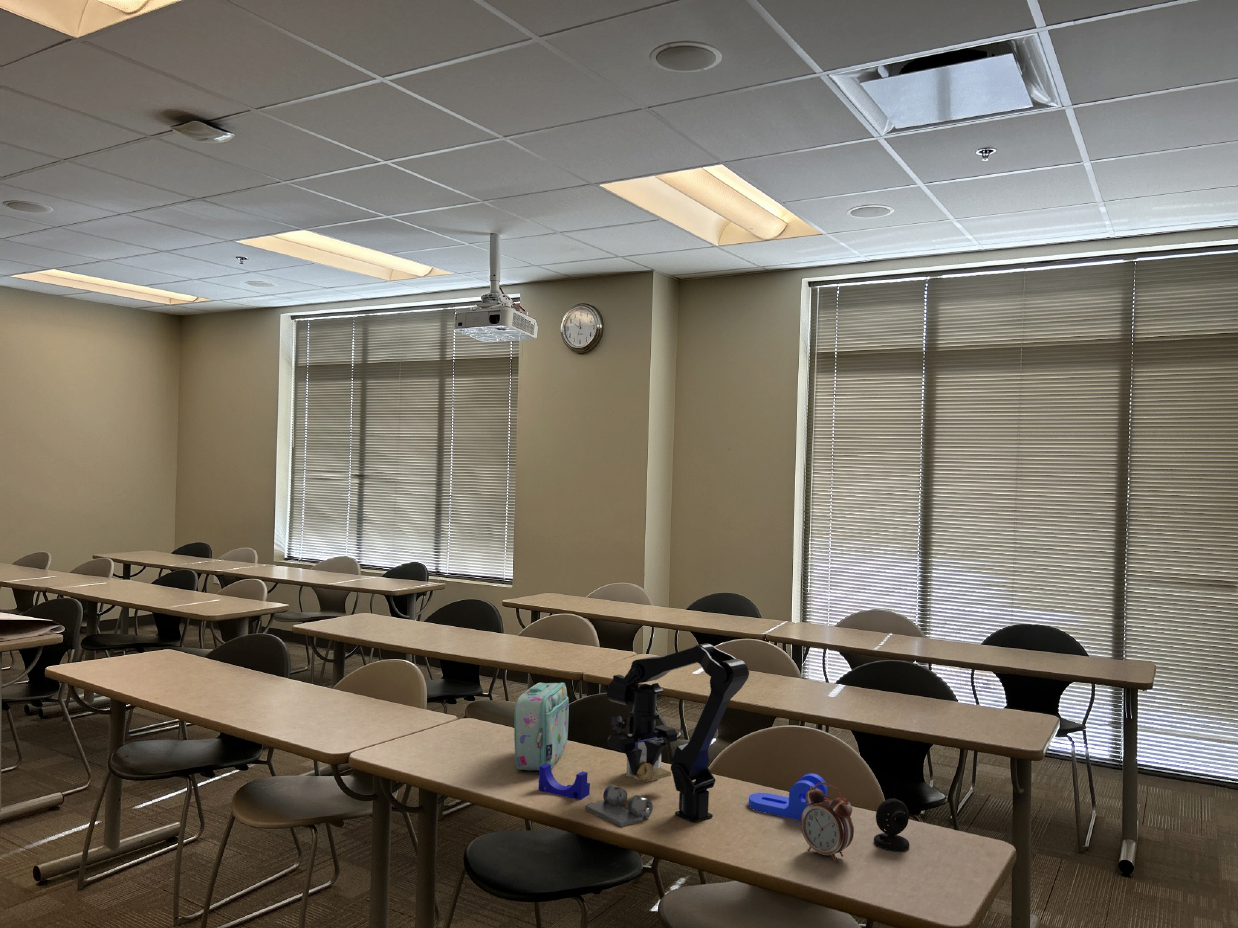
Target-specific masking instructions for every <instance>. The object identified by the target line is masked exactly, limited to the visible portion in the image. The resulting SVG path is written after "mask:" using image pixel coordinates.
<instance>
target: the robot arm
mask: <svg viewBox="0 0 1238 928" xmlns="http://www.w3.org/2000/svg"><path fill="white" fill-rule="evenodd" d="M695 664H699V665H700V667H701V668H702V670H703V671H704V672H705V674H706V675H708V676H709V677H710V678H709V687H710V693H709V695H708V697H707V701H706V703H705V705H704V707H703V709H702V712H701V714H700V716H699V718H698V720H697V723H696V725H695V727H694V729H693V732H692V735H691V736H690V738H689V741H688V742H687V743H684V744H680V745H678V746H676V748H675V750H674V754H673V757H672V758H670V762H671V764H670V772H671V776H672V778H673V783H674V786H675V787H674V788H675V791H677V792H679V797H678V799H679V800H678V810H676V811H675V812H674V815H676V816H679V817H681V818H683V819H686V820H687V821H690V822H691V823H696V822H699V821H700V822H701V821H703V820H707V819H709V818H710V819H711V818H713V813H711V812H709V800H710V798H709V797H710V796H709V795H710V791H709V789H712V788H714V786H715V783H716V778H715V776H714V775H713V773H712V772H711V770H710V769H709V761H710V758H709V749H710V746H711V744H712V742H713V740H714V737H715V735H716V733H717V730H718V728H719V727H720V724H721V721H722V719H723V716H724V715H725V714H726V713H725V712H726V710H727V708H728V707H729V704H730V701H731V699H733V697H734V696H735V695H737V693H738V692H739V691H741V689H742V688H743V686H744V685H745V684H746V682H747V681H748V679H749V676H750V670H749V668H748V666H747V664H746V662H745V661H744V660H742V659H740V658H736V657H735V656H733V655H732V654H729V653H727V652H725V651H723V650H720V649H718V648H717V647H715V645H713V644H710V643H702V644H701V643H700V644H696V645H695V646H693V647H690V648H687V649H683V650H680V651H676V652H674V653H670V654H667V655H664V656H662V655H661V656H660V655H659V656H650V657H645V658H638V659H634V660H633V661H632V662H631V666H630V669H629V670H628V672H627V673H626V675H625V676H624V675H622V674H615V675H613V676H612V680H611V681H610V683H609V684H608V686H607V689H606V697H607V699H608V701H610V702H612V703H617V704H619V705H620V704H621V705H625V706H632V711H629V713H628V715H627V718H622V716H621V715H616V716H612V717H611V723H610V726H611V729H612V730H613V731H615V730H616V733H615V734H610V735H609V736H608V738H607V745H606V747H607V748H610V749H613V750H615V751H618V752H620V753H624V754H625V756H626V759H627V758H628V762H629V765H630V768H631V772H632V774H633V775H637V771H638V767H639V763H640V758H641V753H642V750H641V749H639V748H638V744H639V743H641V742H644V743H645V746H646V748H647V753H646V762H647V763H650V764H652V766H653V767H654V765H655V763H656V761H657V759H658V757H659V755H660V754H661V755H662V752H663V750H664V749H665V747H668V743H673V742H677V741H678V733H677V730H676V729H675V728H673V727H670V726H668V725H663V724H661V725H656V720H659V719H660V714H659V713H657V696H658V695H659V694H663V693H664V692H665V689H663V687H661V686H660V684H659V682H654V683H651V684H649V683H648V682H653V681H657V680H659V679H661V678H663V677H665V676H666V675H667V674H668V673H670V672H671V671H675V670H678V669H682V668H685V667H688V666H689V667H690V666H692V665H695ZM623 732H625V734H624V733H623ZM628 734H632V736H628ZM638 738H640V739H638ZM664 738H665V739H666V741H667V743H666V742H664Z"/></svg>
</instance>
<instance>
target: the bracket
mask: <svg viewBox="0 0 1238 928" xmlns="http://www.w3.org/2000/svg"><path fill="white" fill-rule="evenodd" d="M817 783H826V781H825V780H824V778H823V777H822V776H820V775H819V774H817V773H806V774H804V775H803V776H802V777H801V778H800V779H799V780H798V781H796V782H795V783H794V784H793V785H792V786H791V787H790V789H789V792H788V797H787V796H783V795H778V794H773V793H768V792H756V793H755V792H754V793H751V794H750V795H748V804H747V805H749V806H748V807H749V808H750V807H751V808H752V810H753V809H754V810H753V811H756V812H760V813H763V812H766V813H765V814H769V815H772V814H773V815H772V816H778V817H783V818H787V819H791V820H797V821H800V822H801V816H802V813H803V811H804V809H805V808H806V807H807V806H809V805H810V804H812V803H810V804H806V799H805V796H806V794H807V793H808V791H809V790H811V789H810V786H812V787H813V788H814V787H815V785H816V784H817ZM816 789H820V790H822V791H823V793H824V794H825V796H828V786H827V785H818V786H817V788H816ZM824 799H825V798H824ZM821 800H823V799H821ZM751 808H750V809H751Z"/></svg>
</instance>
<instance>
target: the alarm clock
mask: <svg viewBox="0 0 1238 928" xmlns="http://www.w3.org/2000/svg"><path fill="white" fill-rule="evenodd" d="M818 785H827V787H830V788H833V789H834V790H836V791H837V792H838V794H839V796H840V797H836V798H835V799H832V798H831V796H828V795H827V796H825V794H824V793H823V791H822V790H820V789H816V788H817V786H818ZM810 789H811V790H809V791H808V793H807V794H806V796H805V799H806V804H810V803H812V804H810V805H809V806H807V807H806V808H805V809H804V811H803V813H802V816H801V821H800V829H801V833H802V836H803V838H804V840H805V842H806V843H807V844H808V846H809V847H808V848H807V850H806V851H807V852H808V853H810V851H811V850H813V851H815V852H816V853H818V854H820V855H824V856H831V857H832V859H833V862H834V863H837V862H838V861H837V859H836V855H835V854H840V856H841V857H844V854H843V851H844V850H845V849H846V848H848V847H849V846H850V845H851V844H852V841H853V839H854V834H855V833H854V832H855V831H854V830H855V829H854V828H855V827H854V822H853V820H852V817H851V816H852V813H853V807H852V804H851V802H850V801H849V799H848V798H844V796H843V794H842V791H841V789H840V788H838V787H836V786H835V785H833V784H831V783H827V782H825V783H817V784H816V785H815V787H814V788H813V787H812V786H810ZM824 798H825V799H824ZM821 799H823V800H821Z"/></svg>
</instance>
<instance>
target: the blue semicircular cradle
mask: <svg viewBox="0 0 1238 928" xmlns="http://www.w3.org/2000/svg"><path fill="white" fill-rule="evenodd" d="M537 787H538V788H537V789H538V791H539V792H544V793H549V794H553V795H558V796H562V797H567V798H571V799H575V800H579V801H581V800H583V799H586V797H588V796H590V791H591V790H590V789H591V783H590V782H588V772H586V771H583V770H582V771H580V772H578V773H576V775H575V780H574V783H573V784H567V785H563V784H561V783H559V782H558V780H556V779H555V776H554V775H553V771H552V768H551V765H550V764H544V765H542V766H540V767H539V771H538V786H537Z"/></svg>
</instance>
